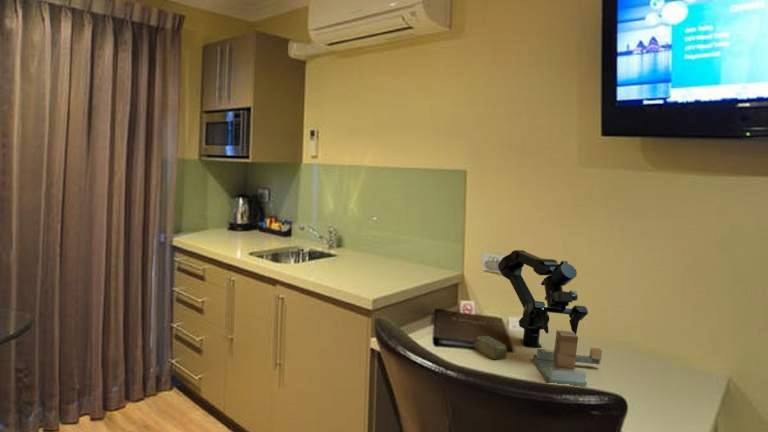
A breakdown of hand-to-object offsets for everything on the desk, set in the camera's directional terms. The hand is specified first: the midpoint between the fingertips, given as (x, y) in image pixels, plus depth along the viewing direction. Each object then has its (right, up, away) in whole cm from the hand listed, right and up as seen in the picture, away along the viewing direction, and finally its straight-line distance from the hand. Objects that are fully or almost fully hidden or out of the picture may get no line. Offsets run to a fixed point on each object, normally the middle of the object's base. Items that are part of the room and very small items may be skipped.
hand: (561, 334), depth 161 cm
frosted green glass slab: (-2, -12, -2) cm, 12 cm away
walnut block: (-2, -11, -7) cm, 13 cm away
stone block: (-21, -9, +10) cm, 25 cm away
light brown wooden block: (+4, -10, +4) cm, 11 cm away
